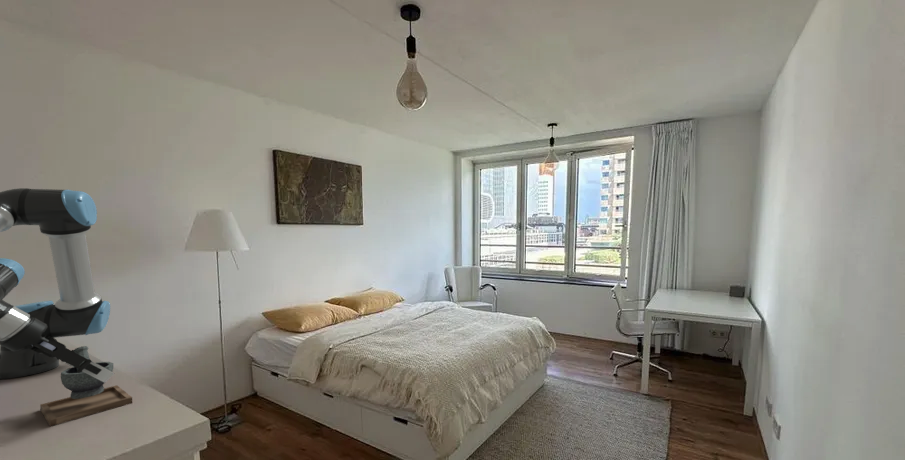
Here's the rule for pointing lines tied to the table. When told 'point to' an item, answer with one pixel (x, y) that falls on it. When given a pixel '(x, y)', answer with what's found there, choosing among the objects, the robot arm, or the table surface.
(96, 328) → the robot arm
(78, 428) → the table surface
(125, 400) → the walnut tray
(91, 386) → the mortar and pestle
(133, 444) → the table surface
